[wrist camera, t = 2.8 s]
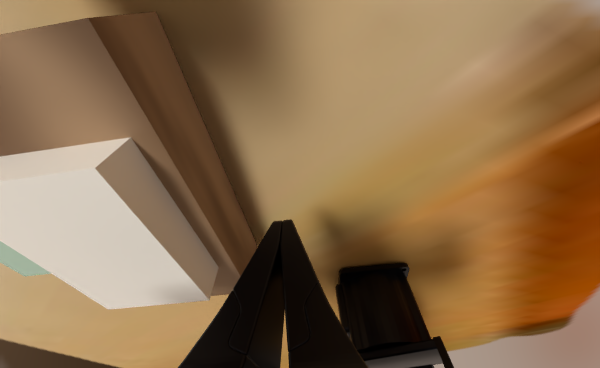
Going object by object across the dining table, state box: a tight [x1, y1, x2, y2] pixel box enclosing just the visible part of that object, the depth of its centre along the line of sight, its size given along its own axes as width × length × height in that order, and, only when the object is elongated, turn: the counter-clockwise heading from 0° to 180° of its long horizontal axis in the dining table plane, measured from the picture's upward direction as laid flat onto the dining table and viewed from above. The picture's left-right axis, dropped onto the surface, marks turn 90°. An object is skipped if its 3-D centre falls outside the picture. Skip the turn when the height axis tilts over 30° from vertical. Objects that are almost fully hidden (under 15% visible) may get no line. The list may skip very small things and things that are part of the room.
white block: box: [0, 137, 219, 309], centre depth 11 cm, size 6×9×2 cm, turn 8°
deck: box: [0, 12, 257, 296], centre depth 13 cm, size 10×16×4 cm, turn 8°
